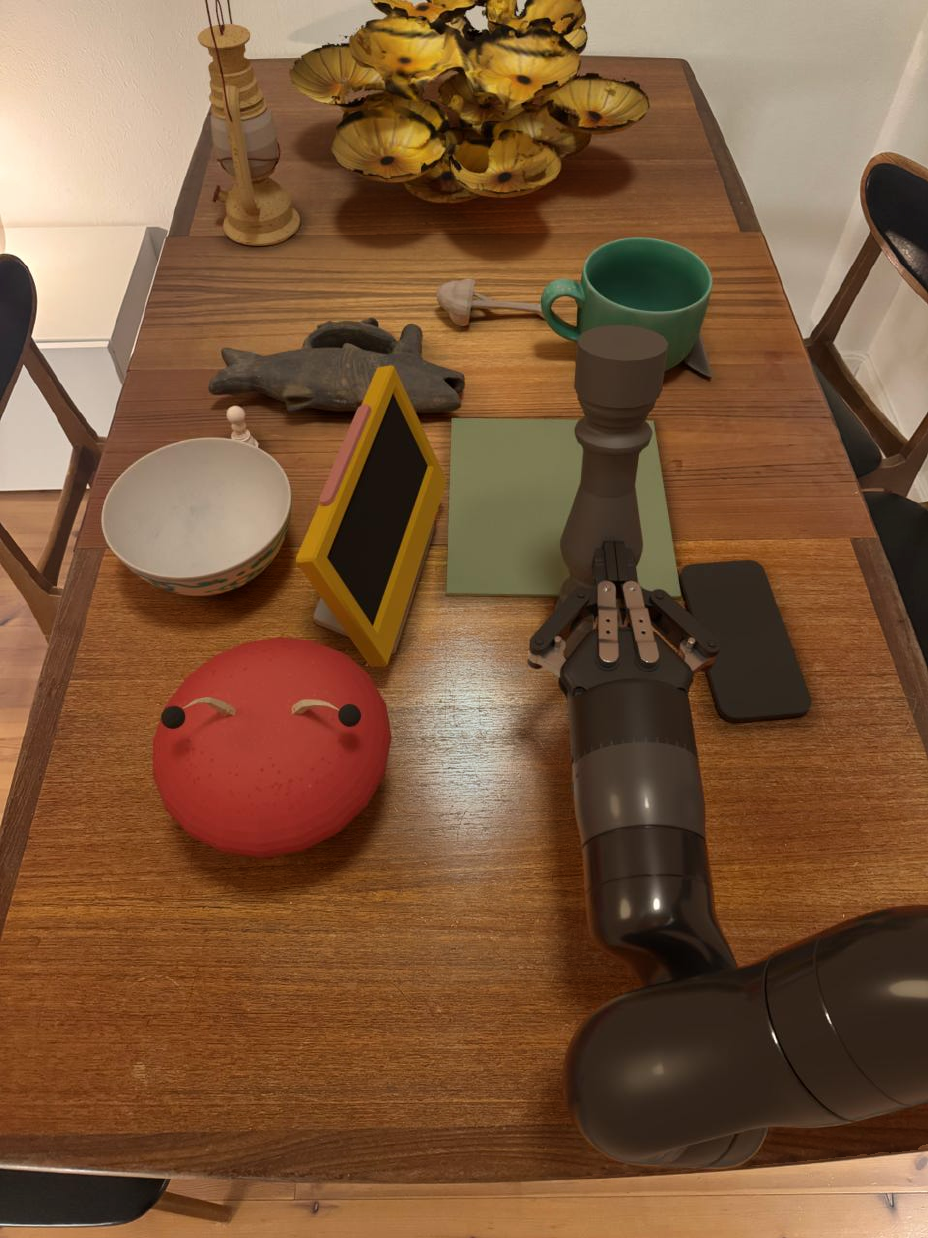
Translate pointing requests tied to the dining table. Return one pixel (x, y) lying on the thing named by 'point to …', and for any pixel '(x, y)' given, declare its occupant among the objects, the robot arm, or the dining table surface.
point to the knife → (698, 358)
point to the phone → (746, 641)
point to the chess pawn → (239, 426)
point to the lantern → (245, 141)
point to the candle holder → (609, 448)
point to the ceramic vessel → (341, 370)
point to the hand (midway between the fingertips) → (611, 548)
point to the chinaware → (199, 515)
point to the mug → (637, 293)
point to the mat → (535, 508)
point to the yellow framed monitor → (374, 522)
